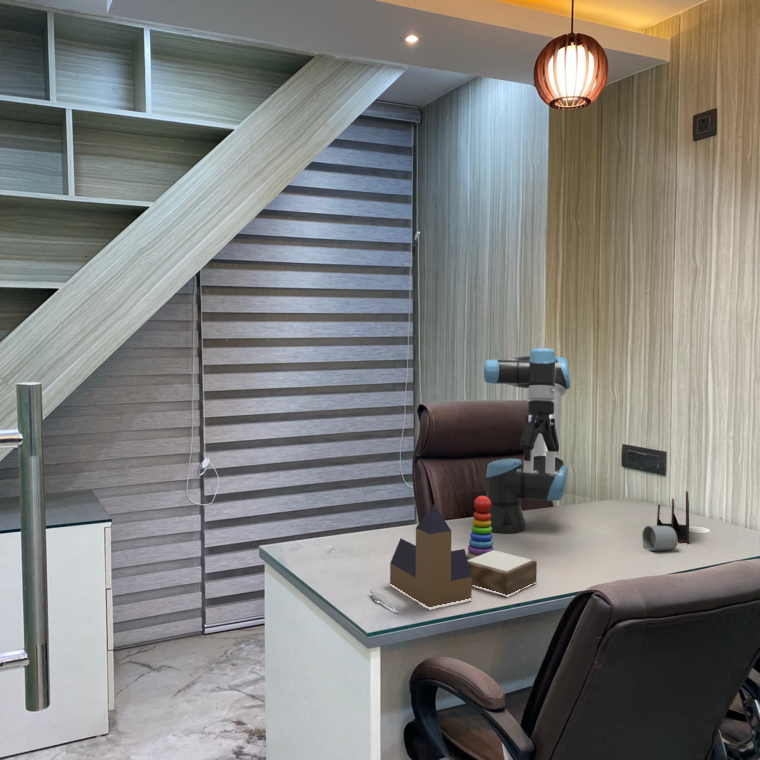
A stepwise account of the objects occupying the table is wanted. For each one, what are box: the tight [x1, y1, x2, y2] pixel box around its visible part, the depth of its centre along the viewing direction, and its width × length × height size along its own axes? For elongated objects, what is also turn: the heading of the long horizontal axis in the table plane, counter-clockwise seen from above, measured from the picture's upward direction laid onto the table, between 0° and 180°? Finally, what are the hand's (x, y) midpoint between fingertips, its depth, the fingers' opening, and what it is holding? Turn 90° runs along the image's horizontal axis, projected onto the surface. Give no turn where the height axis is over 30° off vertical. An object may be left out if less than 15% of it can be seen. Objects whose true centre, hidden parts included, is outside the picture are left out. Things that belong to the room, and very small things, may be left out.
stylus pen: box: [369, 589, 395, 609], centre depth 175 cm, size 15×3×2 cm, turn 29°
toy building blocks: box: [389, 503, 473, 607], centre depth 182 cm, size 12×19×25 cm, turn 29°
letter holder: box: [656, 490, 690, 545], centre depth 236 cm, size 10×20×14 cm, turn 158°
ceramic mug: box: [641, 524, 678, 552], centre depth 221 cm, size 11×8×8 cm
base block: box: [467, 549, 538, 595], centre depth 189 cm, size 14×14×6 cm
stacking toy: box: [466, 495, 494, 560], centre depth 210 cm, size 8×8×19 cm
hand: (539, 473), depth 209 cm, fingers open, 13 cm apart
